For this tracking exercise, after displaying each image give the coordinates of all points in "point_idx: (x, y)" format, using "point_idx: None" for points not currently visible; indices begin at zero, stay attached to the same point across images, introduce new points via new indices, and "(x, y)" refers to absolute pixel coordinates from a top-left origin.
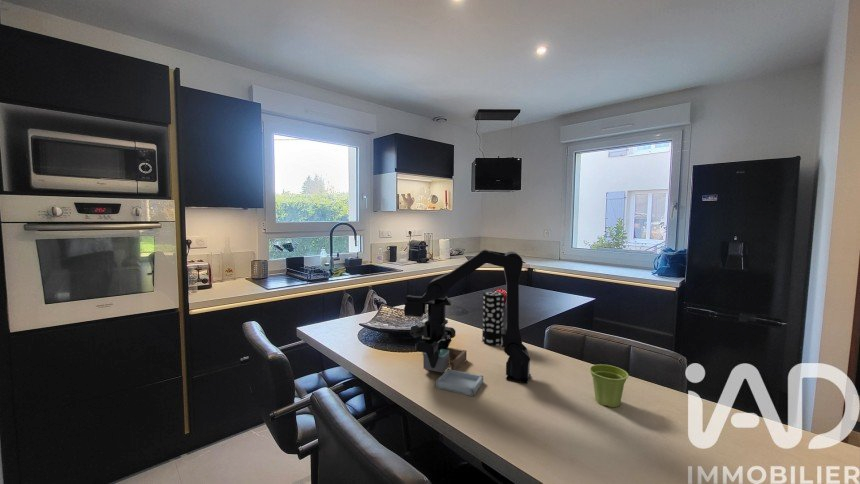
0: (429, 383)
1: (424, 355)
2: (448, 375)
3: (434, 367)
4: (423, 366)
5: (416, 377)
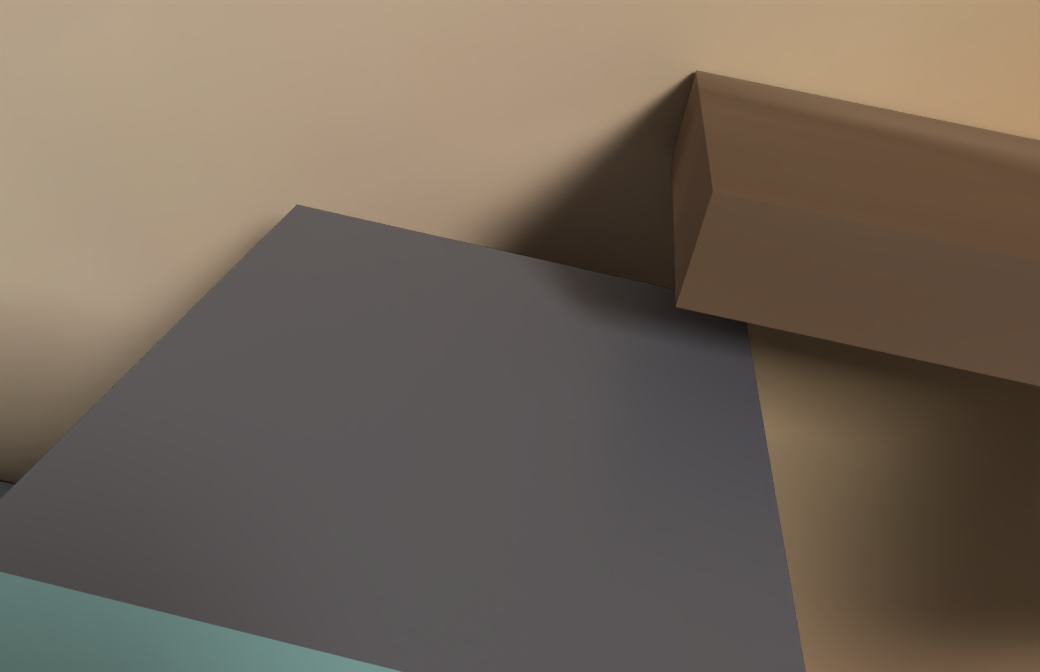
0: (11, 365)
1: (33, 524)
2: None
3: None
4: (274, 233)
5: (57, 52)
